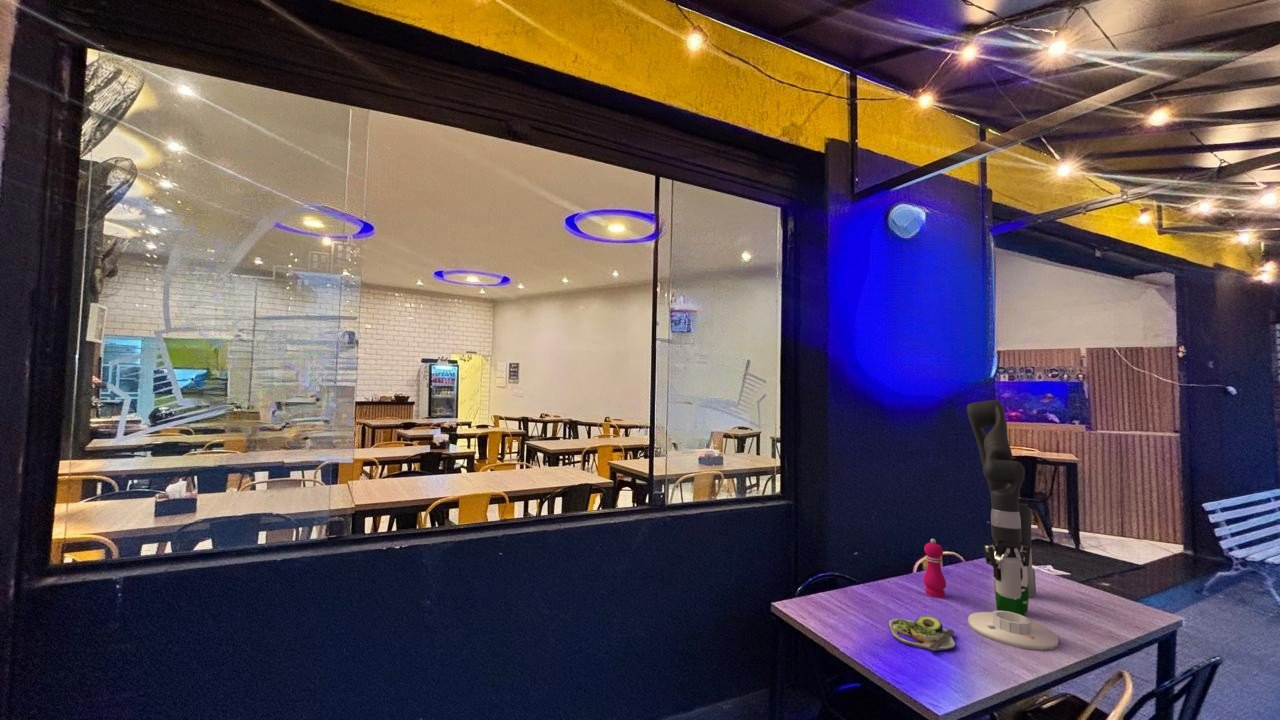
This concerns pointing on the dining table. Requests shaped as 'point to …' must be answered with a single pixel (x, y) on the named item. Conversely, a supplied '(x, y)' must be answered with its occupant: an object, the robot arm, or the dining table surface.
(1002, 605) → the milk carton
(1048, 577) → the dining table surface
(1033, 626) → the twist-lock holder
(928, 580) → the pepper mill
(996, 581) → the beverage can
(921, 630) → the salad plate
